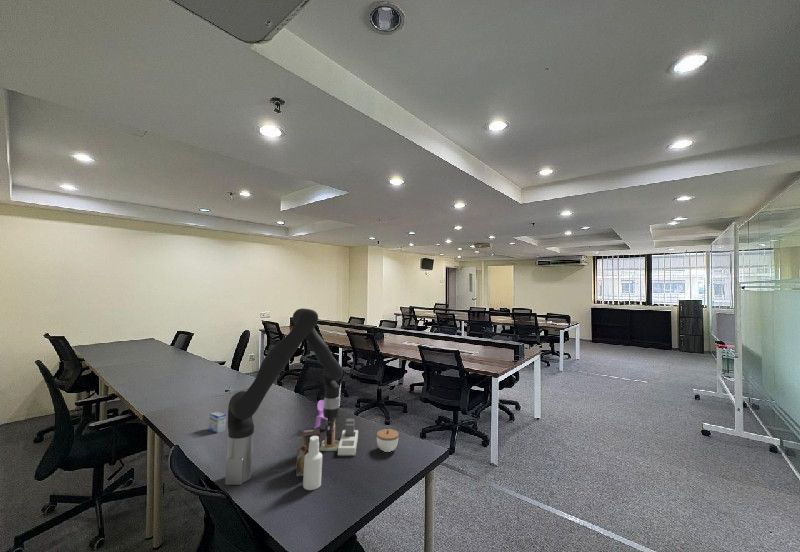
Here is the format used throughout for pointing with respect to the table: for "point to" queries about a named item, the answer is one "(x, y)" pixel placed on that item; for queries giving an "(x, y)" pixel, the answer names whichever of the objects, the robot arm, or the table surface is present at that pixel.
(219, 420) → the medicine box
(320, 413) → the toy chair
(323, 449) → the tray
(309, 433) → the coffee box
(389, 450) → the lidded jar
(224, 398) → the table surface
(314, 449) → the white bottle
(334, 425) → the plug
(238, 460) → the robot arm
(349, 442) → the white slotted holder
